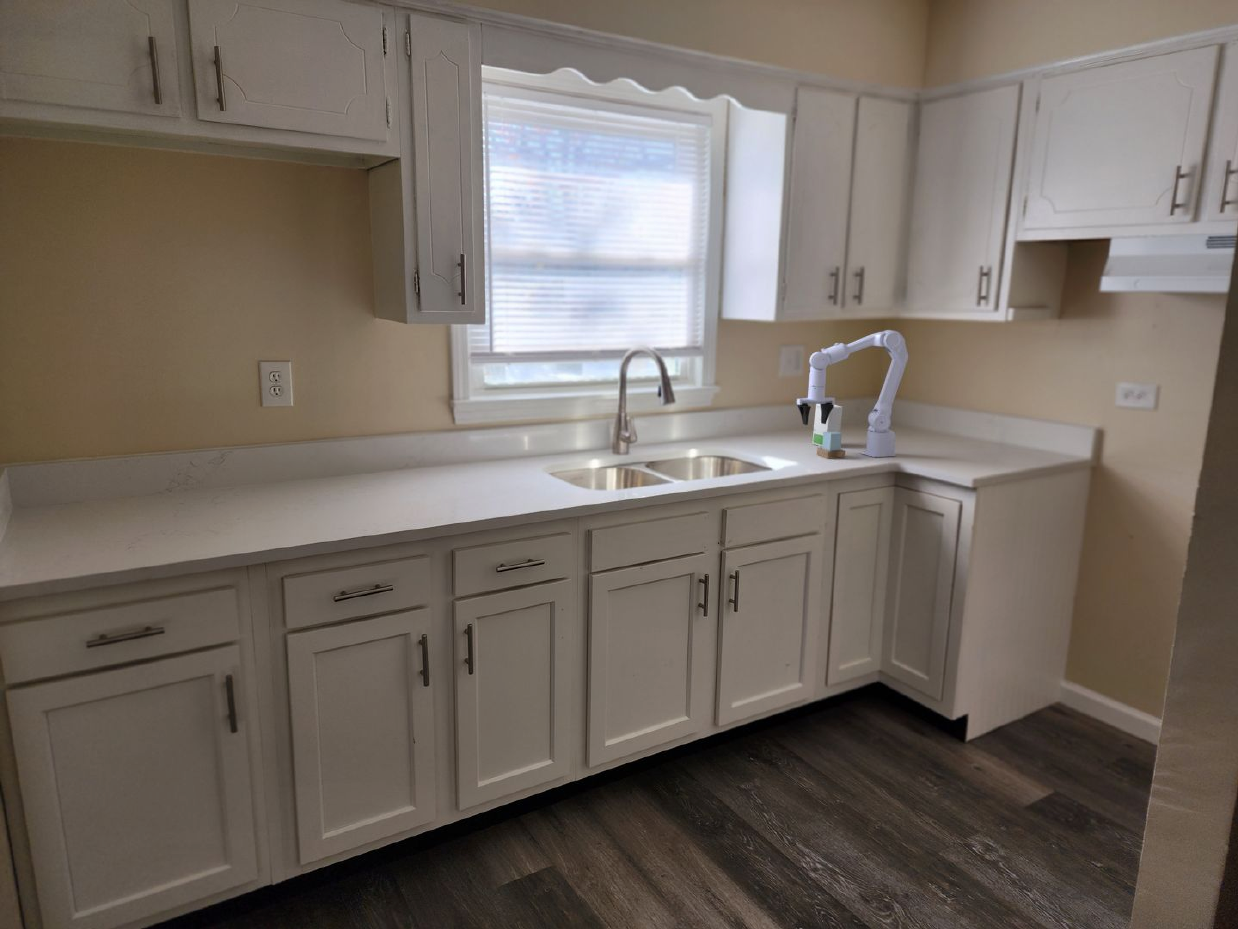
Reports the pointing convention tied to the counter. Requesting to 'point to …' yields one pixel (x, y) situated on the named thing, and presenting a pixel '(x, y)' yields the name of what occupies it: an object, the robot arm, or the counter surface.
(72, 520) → the counter surface
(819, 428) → the skincare box
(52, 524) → the counter surface
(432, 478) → the counter surface
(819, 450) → the walnut base
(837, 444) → the blue block
